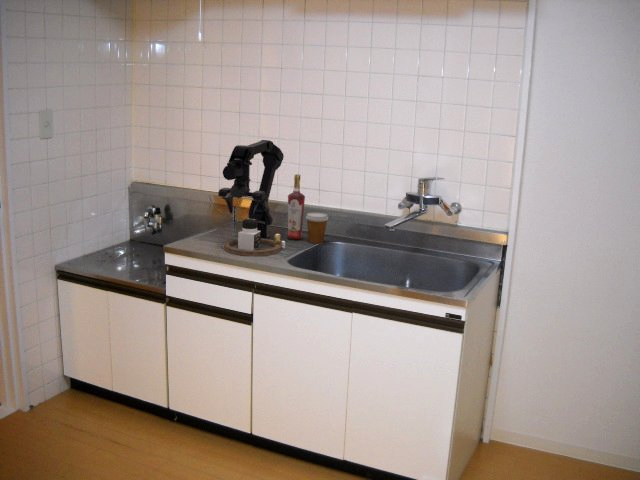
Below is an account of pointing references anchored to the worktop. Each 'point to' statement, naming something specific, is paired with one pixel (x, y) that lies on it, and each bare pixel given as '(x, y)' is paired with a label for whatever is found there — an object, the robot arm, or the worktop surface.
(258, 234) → the medicine bottle
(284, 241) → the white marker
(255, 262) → the worktop surface
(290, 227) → the liquor
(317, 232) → the disposable coffee cup
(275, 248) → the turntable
